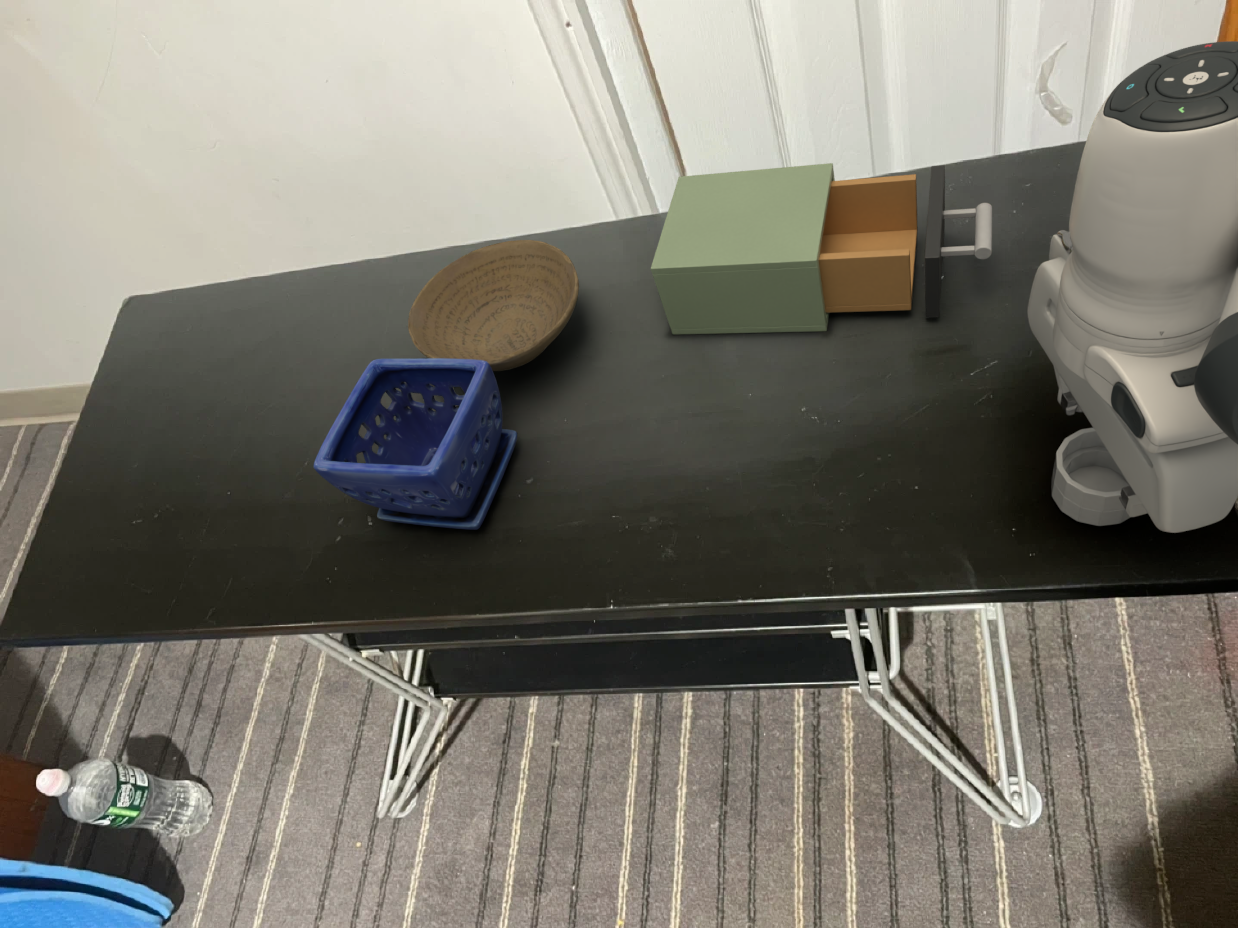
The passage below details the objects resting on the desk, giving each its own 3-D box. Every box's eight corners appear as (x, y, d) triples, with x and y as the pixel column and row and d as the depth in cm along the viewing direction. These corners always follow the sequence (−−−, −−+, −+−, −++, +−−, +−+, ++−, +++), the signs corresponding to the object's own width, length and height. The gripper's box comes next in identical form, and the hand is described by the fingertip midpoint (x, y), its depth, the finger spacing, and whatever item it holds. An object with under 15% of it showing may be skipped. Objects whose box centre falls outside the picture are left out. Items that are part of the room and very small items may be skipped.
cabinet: (840, 235, 93) (832, 162, 86) (826, 331, 86) (816, 260, 79) (697, 244, 99) (678, 176, 92) (672, 334, 91) (650, 268, 84)
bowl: (603, 275, 100) (581, 219, 94) (595, 400, 89) (569, 346, 83) (452, 306, 104) (421, 254, 98) (427, 428, 93) (391, 378, 87)
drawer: (990, 223, 87) (993, 160, 81) (989, 316, 80) (992, 254, 74) (797, 235, 93) (788, 178, 88) (781, 321, 87) (770, 265, 81)
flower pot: (423, 429, 93) (367, 353, 84) (536, 435, 88) (489, 354, 79) (372, 538, 86) (305, 468, 77) (491, 551, 81) (434, 477, 72)
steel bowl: (1138, 462, 69) (1149, 426, 65) (1145, 532, 65) (1156, 498, 62) (1049, 459, 71) (1055, 425, 68) (1051, 527, 68) (1057, 494, 64)
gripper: (1011, 230, 60) (999, 365, 71) (1170, 462, 47) (1127, 585, 58) (1106, 200, 59) (1080, 342, 70) (1295, 428, 46) (1228, 559, 57)
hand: (1103, 454), depth 64 cm, fingers open, 8 cm apart
